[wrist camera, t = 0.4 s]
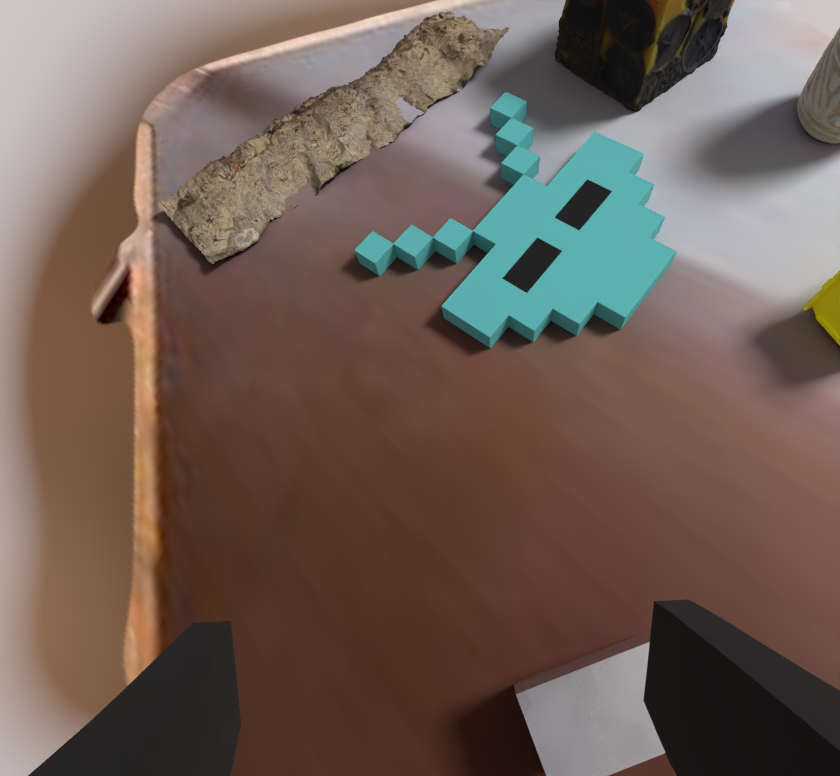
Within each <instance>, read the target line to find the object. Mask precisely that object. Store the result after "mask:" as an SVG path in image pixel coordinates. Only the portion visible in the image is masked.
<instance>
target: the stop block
mask: <svg viewBox="0 0 840 776" xmlns="http://www.w3.org/2000/svg"><path fill="white" fill-rule="evenodd" d="M650 636H651V635H642V634H640V635H638V636H635V637H633V638H630V639H628V640H625V641H622V642H620V643H617V644H615V645H612V646H610V647H607V648H605V649H602V650H599V651H597V652H594V653H592V654H589V655H587V656H584V657H582V658H579V659H576V660H574V661H571V662H569V663H566V664H564V665H561V666H559V667H556V668H553V669H551V670H548V671H546V672H543V673H541V674H538V675H536V676H533V677H530V678H528V679H525V680H523V681H520V682H518V683H515V684H514V688H515V693H516V696H517V699H518V702H519V704H520V707H521V710H522V712H523V715H524V718H525V720H526V723H527V726H528V728H529V731H530V734H531V736H532V739H533V742H534V744H535V747H536V750H537V752H538V755H539V758H540V760H541V763H542V766H543V769H544V771H545V774H546V776H608V775H611V774H613V773H616V772H618V771H621V770H623V769H626V768H628V767H631V766H634V765H636V764H639V763H641V762H644V761H646V760H649V759H651V758H654V757H656V756H659V755H661V754H664V753H665V750H664V748H663V746H662V744H661V741H660V739H659V737H658V735H657V732H656V730H655V727H654V725H653V723H652V720H651V718H650V715H649V713H648V710H647V708H646V706H645V703H644V701H643V700H644V690H645V681H646V672H647V663H648V654H649V645H650Z"/></svg>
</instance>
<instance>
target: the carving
mask: <svg viewBox="0 0 840 776" xmlns="http://www.w3.org/2000/svg"><path fill="white" fill-rule="evenodd" d="M797 111H798V118H799V120H800V123H801V124H802V126H803V128H804V129H805V130H806V131H807V133H808V134H809V135H811V136H812V137H814V138H816V139H817V140H819V141H822V142H825V143H832V144H834V143H840V28H839V30H838V31H837V33H836V35H835V36H834V38H833V39H832V41H831V42H830V44H829V45H828V46H827V48H826V49H825V51H824V53H823V56H822V57H821V58H820V60H819V62H818V63H817V65H816V67H815V69H814V71H813V72H812V74H811V75H810V77H809V78H808V80H807V83H806V85H805V86H804V88H803V90H802V93H801V95H800V98H799V101H798V104H797Z"/></svg>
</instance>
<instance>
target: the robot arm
mask: <svg viewBox="0 0 840 776" xmlns="http://www.w3.org/2000/svg"><path fill="white" fill-rule="evenodd" d="M643 701H644V703H645V706H646V708H647V710H648V713H649V715H650V718H651V720H652V723H653V725H654V727H655V730H656V732H657V735H658V737H659V739H660V741H661V744H662V746H663V748H664V750H665V753H666V755H667V757H668V759H669V762H670V764H671V766H672V767H673V769H674V771H675V773H676V775H677V776H840V691H839V690H838V689H836V688H834V687H832V686H831V685H829V684H827V683H826V682H824V681H822V680H821V679H819V678H817V677H816V676H814V675H812V674H811V673H809V672H808V671H806V670H804V669H803V668H801V667H799V666H798V665H796V664H794V663H793V662H791V661H790V660H788V659H786V658H785V657H783V656H781V655H780V654H778V653H777V652H775V651H773V650H772V649H770V648H768V647H767V646H765V645H764V644H762V643H760V642H759V641H757V640H756V639H754V638H752V637H751V636H749V635H748V634H746V633H744V632H743V631H741V630H740V629H738V628H736V627H735V626H733V625H731V624H730V623H728V622H726V621H725V620H723V619H722V618H720V617H718V616H717V615H715V614H713V613H712V612H710V611H708V610H706V609H705V608H703V607H701V606H699V605H697V604H696V603H694V602H692V601H690V600H672V601H654V608H653V618H652V627H651V636H650V645H649V654H648V663H647V672H646V681H645V690H644V700H643ZM240 727H241V719H240V709H239V699H238V689H237V679H236V669H235V659H234V649H233V639H232V629H231V621H226V622H204V623H193V624H192V625H190V626H189V627H188V628H187V629H186V630H185V631H184V632H183V633H182V634H181V635H180V636H179V637H178V638H177V639H176V640H175V641H174V642H173V643H172V644H171V645H170V646H169V647H167V648H166V649H165V650H164V651H163V652H162V653H161V654H160V655H159V656H158V657H157V658H156V659H155V660H154V661H153V662H152V663H151V664H150V665H149V666H148V667H147V668H146V669H145V670H144V671H143V672H142V673H141V674H140V675H139V676H138V677H137V678H136V679H135V680H134V681H133V682H131V683H130V684H129V685H128V686H127V687H126V688H125V689H124V690H123V691H122V692H121V693H120V694H119V695H118V696H117V697H116V698H115V699H114V700H113V701H111V702H110V703H109V704H108V705H107V706H106V707H105V708H104V709H103V710H102V711H101V712H100V713H99V714H98V715H97V716H95V717H94V718H93V719H92V720H91V721H90V722H89V723H88V724H87V725H86V726H85V727H83V728H82V729H81V730H80V731H79V732H78V733H77V734H76V735H74V736H73V737H72V738H71V739H70V740H69V741H67V742H66V743H65V744H64V745H63V746H62V747H61V748H59V749H58V750H57V751H56V752H55V753H54V754H53V755H52V756H50V757H49V758H48V759H47V760H46V761H45V762H43V763H42V764H41V765H40V766H39V767H38V768H37V769H35V770H34V771H33V772H32V773H31V774H30V775H29V776H230V774H231V770H232V765H233V761H234V756H235V751H236V746H237V741H238V736H239V731H240Z"/></svg>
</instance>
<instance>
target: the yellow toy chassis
mask: <svg viewBox="0 0 840 776" xmlns="http://www.w3.org/2000/svg"><path fill="white" fill-rule="evenodd" d="M812 307H813V310H814V312H815V315H816V316H815V318H816V319H817V321H818V322H819V323H820V324H821V325H822V326H823V327H824V329H825V330H826V331H827V332H828V333H829V334H830V335H831V336H832V338H833V339H834V340H835V341H836V342H837V343H838V344H839V346H840V271H839V272H838V273H837V274H836V275H835V276H834V277H833V278H831V279H829V280H828V281H827V282H826V283H825V284H824V285H823V286H822V289H821V290H820V291H819V292H818V293H817V294H816V295H815V296H814V297H813V298H812V299H811V300H810V301H809V303H808V304H807V305H806V306H805V307H804V308H803V309H804V310H808V309H810V308H812Z"/></svg>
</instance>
